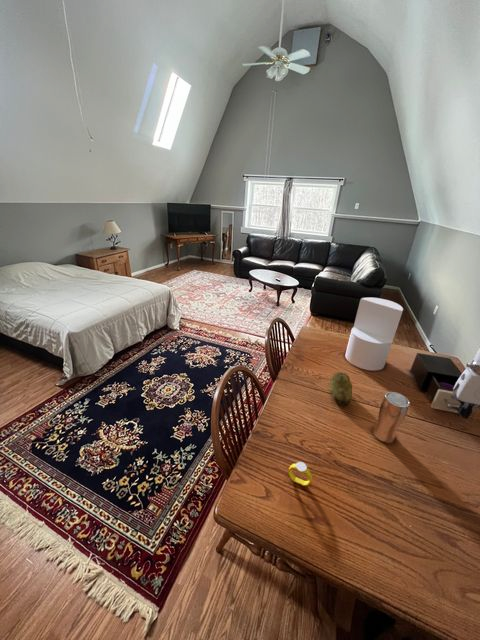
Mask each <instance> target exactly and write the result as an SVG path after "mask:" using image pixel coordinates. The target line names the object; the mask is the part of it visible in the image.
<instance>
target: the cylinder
mask: <svg viewBox="0 0 480 640" xmlns="http://www.w3.org/2000/svg"><path fill="white" fill-rule="evenodd" d="M403 311H404V308H403V307H402V305H400V304H399V303H397V302H396V301H395V302H394V301H392V300H389V299H384V298H380V297H361V298H360V300H359V304H358V308H357V311H356V315H355V320H354V324H353V327H352V328H351V330H350V333H349V337H348V338H349V339H348V343H347V347H346V350H345V359H346V360H347V362H349V363H350V364H351V365H353V366H355V367H357V368H359V369H362V370H366V371H380V370H383V369H384V368H385V366H386V363H387V360H388V356H389V354H390V350H391V347H392V345H393V341H394V339H395V335H396V332H397V330H398V327H399V324H400V320H401V317H402V315H403Z"/></svg>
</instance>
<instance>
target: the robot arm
mask: <svg viewBox="0 0 480 640" xmlns="http://www.w3.org/2000/svg"><path fill="white" fill-rule="evenodd" d="M465 367H466V368H465V370H464V371H463V372H461V373H462V375H461V376H460V377H459V379H458V380H457V382H456V384H455V386H454V388H453V393H452V394H451V397H452V399H454V400H456V401H459V402H460V403H461V404H460V406H459V408H458V410H457V411H458V413H457V414H458V415H459V416H460V418H462V419H465V420H468V419H469V417H470V416H471V415H472V414H473V413H472V411H473V412H474V411H476V410H477V409H478V408H480V347H479V348H478V350H477V352H476V354H475V356H474V358H473V360H472V361H471V362H467V363H466V366H465Z"/></svg>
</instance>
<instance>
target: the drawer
mask: <svg viewBox="0 0 480 640" xmlns="http://www.w3.org/2000/svg"><path fill="white" fill-rule="evenodd" d="M457 380H458V378H453V377H447V376H442V375H436V374H429V376H428V379H427V381H426V383H425V386H424V389H425V391H426V392H425V393H426V395H427V397H428V398H429V400H430V403H431V404H430V407H431V408H432V409H435V410H440V411H444V412H449V413H455V414H459V413H458V411H457V410H458V408H459V406H460V404H461V403H460V402H459V401H456V400H454V399H452V397H451V394H452V393H453V392H452V391H446V390H441V387H440V385H439V383H440V382H444V383H448V384H451V385H453V386H455V384H456V382H457ZM473 413H474V410H473V411H472V413H471V414H473Z"/></svg>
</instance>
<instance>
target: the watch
mask: <svg viewBox="0 0 480 640" xmlns="http://www.w3.org/2000/svg"><path fill="white" fill-rule="evenodd" d="M292 469H295V470H296V471H297V472H298V473H299V474H306V476H307V477H308V480H304V479H302V478H299V477H297V476H296V475H295V474H294V473H293V470H292ZM287 471H288V472H287V474H288V476H289V478H290V479H291V480H292V481H293V482H294V483H296V484H298V485H301V486H302V487H308V486H309V485H311V483H312V481H313V474H312V472H311V471H310V469H309V468H308V466H307V465H306V463H304V462H303V461H297V462H295V463H292V464H291V465H290V466H289V468H288V470H287Z"/></svg>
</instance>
